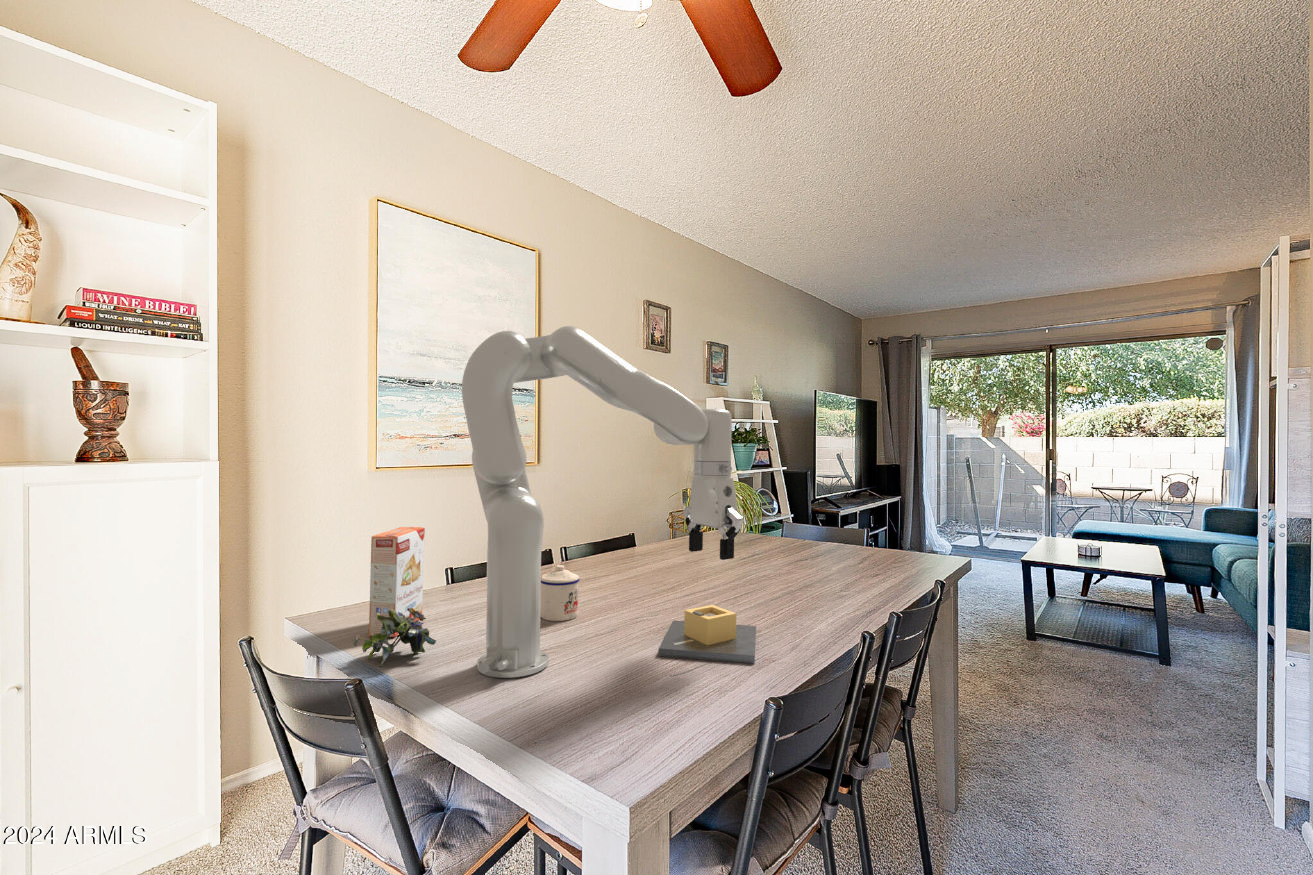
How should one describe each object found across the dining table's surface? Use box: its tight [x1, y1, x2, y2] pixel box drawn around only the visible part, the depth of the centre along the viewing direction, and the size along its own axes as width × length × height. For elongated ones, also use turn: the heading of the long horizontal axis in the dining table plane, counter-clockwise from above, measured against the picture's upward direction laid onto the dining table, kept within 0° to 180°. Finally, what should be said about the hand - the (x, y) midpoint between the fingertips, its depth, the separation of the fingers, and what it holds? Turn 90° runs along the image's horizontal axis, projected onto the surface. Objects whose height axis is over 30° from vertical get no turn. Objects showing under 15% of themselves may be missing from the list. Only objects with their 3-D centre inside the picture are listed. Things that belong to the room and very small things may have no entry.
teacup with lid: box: [540, 564, 580, 622], centre depth 141 cm, size 12×9×12 cm
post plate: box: [658, 613, 757, 665], centre depth 121 cm, size 18×18×6 cm
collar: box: [684, 604, 737, 645], centre depth 121 cm, size 7×7×5 cm
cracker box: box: [368, 526, 426, 638], centre depth 129 cm, size 14×6×21 cm, turn 179°
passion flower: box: [353, 608, 437, 666], centre depth 111 cm, size 11×11×12 cm
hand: (710, 554), depth 121 cm, fingers open, 9 cm apart
